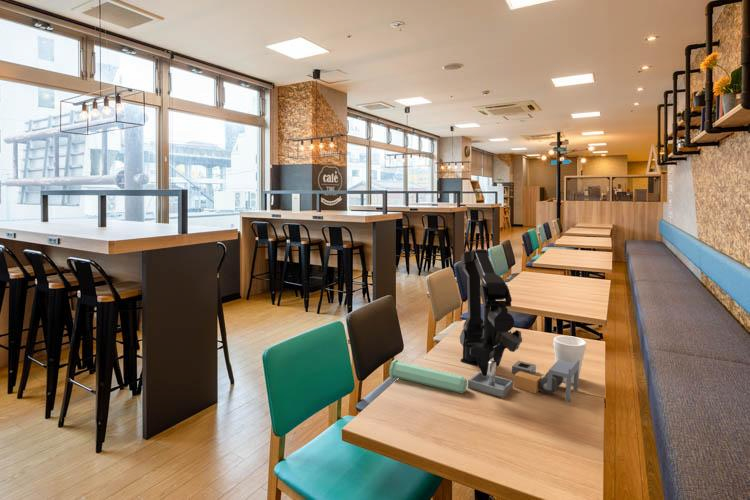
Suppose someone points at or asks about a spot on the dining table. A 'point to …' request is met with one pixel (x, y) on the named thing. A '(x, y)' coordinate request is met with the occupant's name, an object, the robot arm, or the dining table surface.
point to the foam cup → (569, 351)
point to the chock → (526, 381)
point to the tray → (499, 390)
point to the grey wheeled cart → (560, 377)
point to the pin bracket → (523, 367)
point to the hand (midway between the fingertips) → (491, 370)
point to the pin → (491, 373)
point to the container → (428, 376)
